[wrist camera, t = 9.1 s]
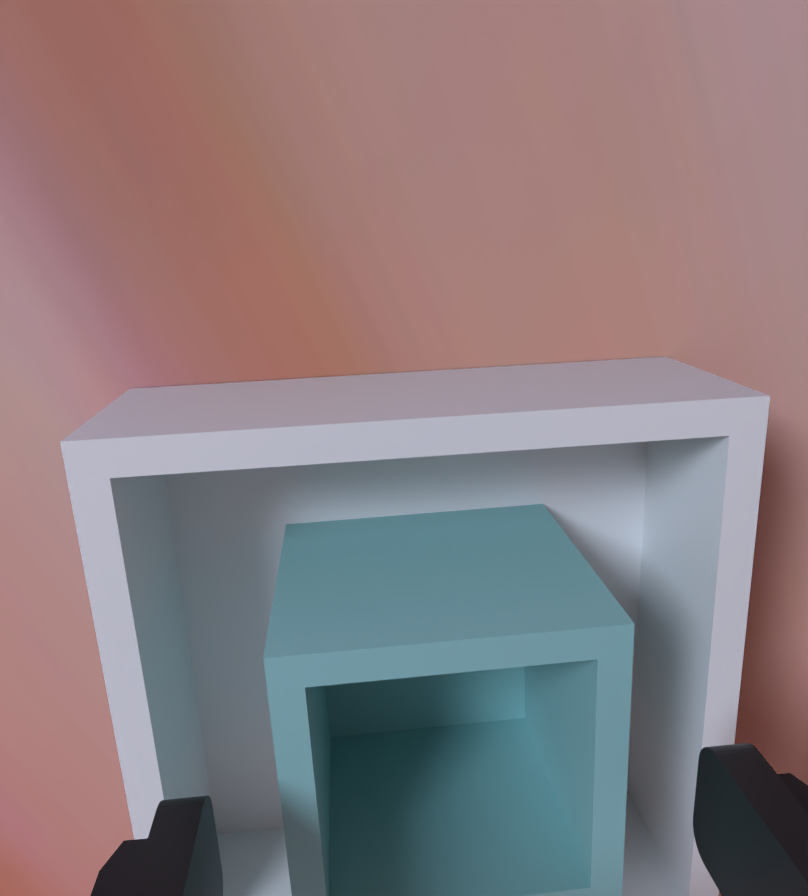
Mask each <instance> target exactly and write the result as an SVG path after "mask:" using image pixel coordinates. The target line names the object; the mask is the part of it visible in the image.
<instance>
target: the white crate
mask: <svg viewBox="0 0 808 896" xmlns="http://www.w3.org/2000/svg"><path fill="white" fill-rule="evenodd" d="M769 402H770V396H769V395H767V394H764V393H761V392H759V391H756V390H754V389H751V388H748V387H746V386H743V385H740V384H738V383H735V382H732V381H730V380H727V379H724V378H722V377H719V376H716V375H714V374H711V373H708V372H706V371H703V370H700V369H698V368H695V367H692V366H690V365H687V364H685V363H682V362H679V361H677V360H674V359H671V358H669V357H654V358H637V359H621V360H604V361H587V362H570V363H554V364H537V365H520V366H504V367H487V368H470V369H454V370H437V371H420V372H404V373H387V374H370V375H354V376H337V377H320V378H303V379H287V380H270V381H253V382H237V383H220V384H203V385H187V386H170V387H153V388H137V389H129V390H127V391H126V392H125V393H124V394H122V395H121V396H120V397H118V398H117V399H116V400H114V401H113V402H112V403H110V404H109V405H108V406H106V407H105V408H104V409H102V410H101V411H100V412H99V413H97V414H96V415H95V416H93V417H92V418H91V419H89V420H88V421H87V422H85V423H84V424H83V425H81V426H80V427H79V428H78V429H76V430H75V431H74V432H72V433H71V434H70V435H68V436H67V437H66V438H64V439H63V440H62V441H60V443H61V449H62V454H63V459H64V465H65V470H66V476H67V481H68V486H69V492H70V497H71V502H72V508H73V513H74V518H75V524H76V529H77V535H78V540H79V545H80V551H81V556H82V561H83V567H84V572H85V577H86V583H87V588H88V594H89V599H90V604H91V610H92V615H93V620H94V626H95V631H96V636H97V642H98V647H99V652H100V658H101V663H102V669H103V674H104V679H105V685H106V690H107V695H108V701H109V706H110V711H111V717H112V722H113V728H114V733H115V738H116V744H117V749H118V754H119V760H120V765H121V770H122V776H123V781H124V787H125V792H126V797H127V803H128V808H129V813H130V819H131V824H132V829H133V835H134V840H137V839H146V838H148V836H149V832H150V829H151V826H152V823H153V819H154V816H155V813H156V809H157V807H158V804H159V803H160V801H162V800H168V799H178V798H188V797H198V796H210V798H211V801H212V806H213V812H214V819H215V825H216V832H217V839H218V845H219V852H220V859H221V865H222V874H223V896H292V893H291V885H290V877H289V869H288V860H287V852H286V844H285V835H284V827H283V819H282V810H281V802H280V794H279V786H278V777H277V769H276V761H275V752H274V744H273V736H272V727H271V719H270V711H269V703H268V694H267V686H266V678H265V669H264V661H263V656H264V651H265V645H266V639H267V633H268V627H269V621H270V615H271V609H272V604H273V598H274V592H275V586H276V580H277V574H278V568H279V562H280V557H281V551H282V545H283V539H284V533H285V527H286V524H296V523H309V522H321V521H334V520H346V519H359V518H371V517H384V516H396V515H409V514H421V513H434V512H446V511H459V510H471V509H484V508H496V507H508V506H521V505H533V504H544V506H545V507H546V508H547V510H548V511H549V512H550V514H551V515H552V516H553V517H554V519H555V520H556V521H557V523H558V524H559V525H560V527H561V528H562V529H563V531H564V532H565V533H566V535H567V536H568V537H569V538H570V540H571V541H572V542H573V544H574V545H575V546H576V548H577V549H578V550H579V552H580V553H581V554H582V555H583V557H584V558H585V559H586V561H587V562H588V563H589V565H590V566H591V567H592V569H593V570H594V571H595V573H596V574H597V575H598V576H599V578H600V579H601V580H602V582H603V583H604V584H605V586H606V587H607V588H608V590H609V591H610V592H611V594H612V595H613V596H614V597H615V599H616V600H617V601H618V603H619V604H620V605H621V607H622V608H623V609H624V611H625V612H626V613H627V614H628V616H629V617H630V618H631V620H632V621H633V622H634V624H635V626H634V648H633V669H632V691H631V712H630V734H629V755H628V777H627V798H626V820H625V841H624V863H623V884H622V896H719V890H718V888H717V886H716V884H715V883H714V881H713V879H712V877H711V876H710V874H709V872H708V870H707V869H706V867H705V865H704V863H703V861H702V859H701V857H700V854H699V852H698V849H697V845H696V842H695V837H694V831H693V812H694V802H695V791H696V781H697V770H698V760H699V754H700V751H701V750H702V749H703V748H704V747H711V746H721V745H731V744H734V742H735V732H736V723H737V713H738V703H739V693H740V684H741V674H742V664H743V655H744V645H745V635H746V626H747V616H748V606H749V596H750V587H751V577H752V567H753V558H754V548H755V538H756V529H757V519H758V509H759V499H760V490H761V480H762V470H763V461H764V451H765V441H766V431H767V422H768V412H769Z"/></svg>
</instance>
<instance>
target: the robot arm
mask: <svg viewBox="0 0 808 896" xmlns="http://www.w3.org/2000/svg"><path fill="white" fill-rule="evenodd" d="M693 831H694V837H695V842H696V845H697V849H698V852H699V854H700V857H701V859H702V861H703V863H704V865H705V867H706V869H707V870H708V872H709V874H710V876H711V877H712V879H713V881H714V883H715V884H716V886H717V888H718V890H719V891H720V893H721V895H722V896H808V785H806V784H805V783H803V782H802V781H800V780H799V779H798V778H796V777H795V776H793V775H792V774H790V773H787V774H777V773H776V772H775V771H774V770H773V768H772V767H771V766H770V765H769V763H768V762H767V761H766V760H765V758H764V757H763V756H762V755H761V753H760V752H759V751H758V750H757V749H756V748H755V747H754V746H753V745H752V744H750V743H741V744H731V745H721V746H711V747H704V748H703V749H702V750H701V751H700V754H699V760H698V770H697V781H696V791H695V802H694V812H693ZM91 896H223V874H222V865H221V859H220V852H219V845H218V839H217V832H216V825H215V819H214V812H213V806H212V801H211V798H210V796H198V797H188V798H178V799H168V800H162V801H160V803H159V804H158V807H157V809H156V813H155V816H154V819H153V823H152V826H151V829H150V832H149V836H148V838H146V839H137V840H127V841H123V843H122V844H121V845H120V846H119V848H118V849H117V850H116V851H115V852H114V854H113V855H112V856H111V857H110V859H109V860H108V861H107V862H106V864H105V865H104V866H103V867H102V869H101V870H100V871H99V874H98V877H97V879H96V882H95V885H94V888H93V890H92V893H91Z"/></svg>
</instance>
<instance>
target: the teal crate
mask: <svg viewBox="0 0 808 896" xmlns="http://www.w3.org/2000/svg"><path fill="white" fill-rule="evenodd" d="M634 626H635V624H634V622H633V621H632V620H631V618H630V617H629V616H628V614H627V613H626V612H625V611H624V609H623V608H622V607H621V605H620V604H619V603H618V601H617V600H616V599H615V597H614V596H613V595H612V594H611V592H610V591H609V590H608V588H607V587H606V586H605V584H604V583H603V582H602V580H601V579H600V578H599V576H598V575H597V574H596V573H595V571H594V570H593V569H592V567H591V566H590V565H589V563H588V562H587V561H586V559H585V558H584V557H583V555H582V554H581V553H580V552H579V550H578V549H577V548H576V546H575V545H574V544H573V542H572V541H571V540H570V538H569V537H568V536H567V535H566V533H565V532H564V531H563V529H562V528H561V527H560V525H559V524H558V523H557V521H556V520H555V519H554V517H553V516H552V515H551V514H550V512H549V511H548V510H547V508H546V507H545V506H544V504H533V505H521V506H508V507H496V508H484V509H471V510H459V511H446V512H434V513H421V514H409V515H396V516H384V517H371V518H359V519H346V520H334V521H321V522H309V523H296V524H286V527H285V533H284V539H283V545H282V551H281V557H280V562H279V568H278V574H277V580H276V586H275V592H274V598H273V604H272V609H271V615H270V621H269V627H268V633H267V639H266V645H265V651H264V656H263V661H264V669H265V678H266V686H267V694H268V703H269V711H270V719H271V727H272V736H273V744H274V752H275V761H276V769H277V777H278V786H279V794H280V802H281V810H282V819H283V827H284V835H285V844H286V852H287V860H288V869H289V877H290V885H291V893H292V896H622V884H623V863H624V841H625V820H626V798H627V777H628V755H629V734H630V712H631V691H632V669H633V648H634Z"/></svg>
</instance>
